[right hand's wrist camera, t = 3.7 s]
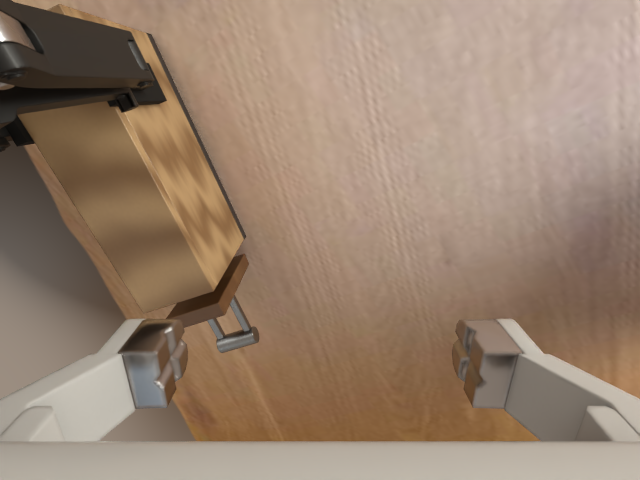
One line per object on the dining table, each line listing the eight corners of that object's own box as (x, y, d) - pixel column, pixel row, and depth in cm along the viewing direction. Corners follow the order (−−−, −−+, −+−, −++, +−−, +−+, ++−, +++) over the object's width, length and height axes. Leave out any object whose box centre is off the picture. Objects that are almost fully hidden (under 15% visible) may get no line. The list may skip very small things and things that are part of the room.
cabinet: (246, 236, 36) (214, 291, 26) (193, 253, 37) (143, 314, 27) (151, 34, 30) (59, 3, 20) (90, 61, 31) (-28, 45, 20)
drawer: (271, 310, 39) (255, 371, 30) (231, 322, 39) (205, 386, 31) (162, 82, 30) (96, 77, 22) (114, 102, 31) (32, 105, 22)
